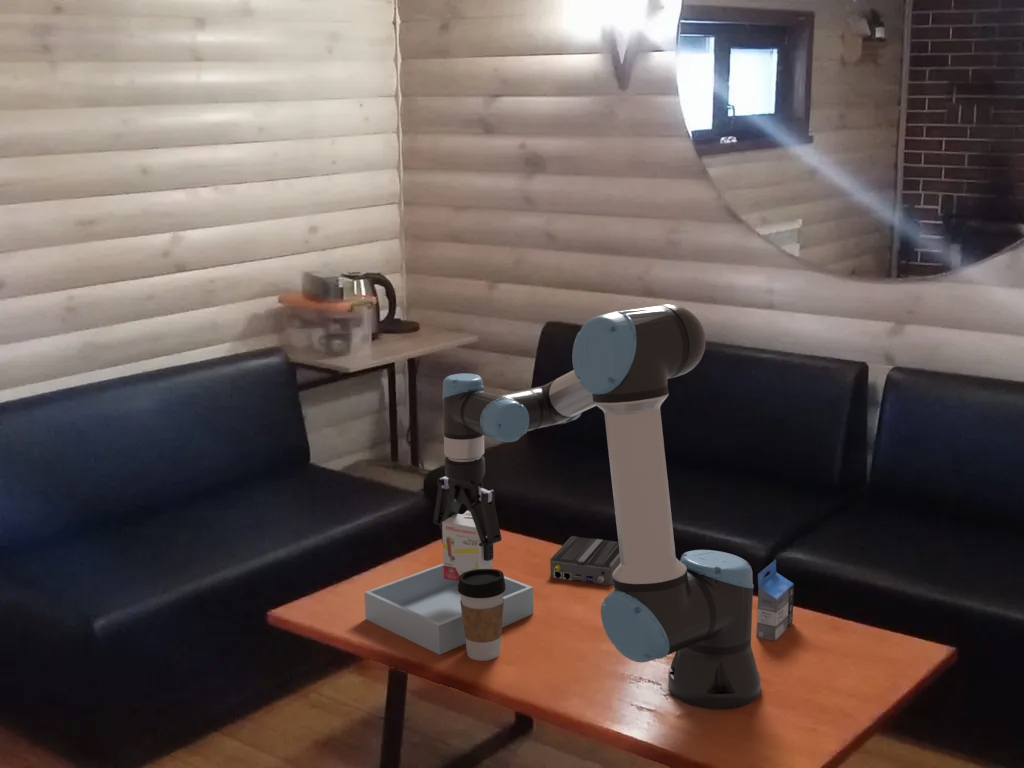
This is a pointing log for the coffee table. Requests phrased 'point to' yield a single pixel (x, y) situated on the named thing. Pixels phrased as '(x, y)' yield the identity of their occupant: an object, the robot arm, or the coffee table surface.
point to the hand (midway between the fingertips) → (467, 567)
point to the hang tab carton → (774, 604)
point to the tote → (435, 608)
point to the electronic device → (586, 560)
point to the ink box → (459, 546)
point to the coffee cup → (482, 611)
